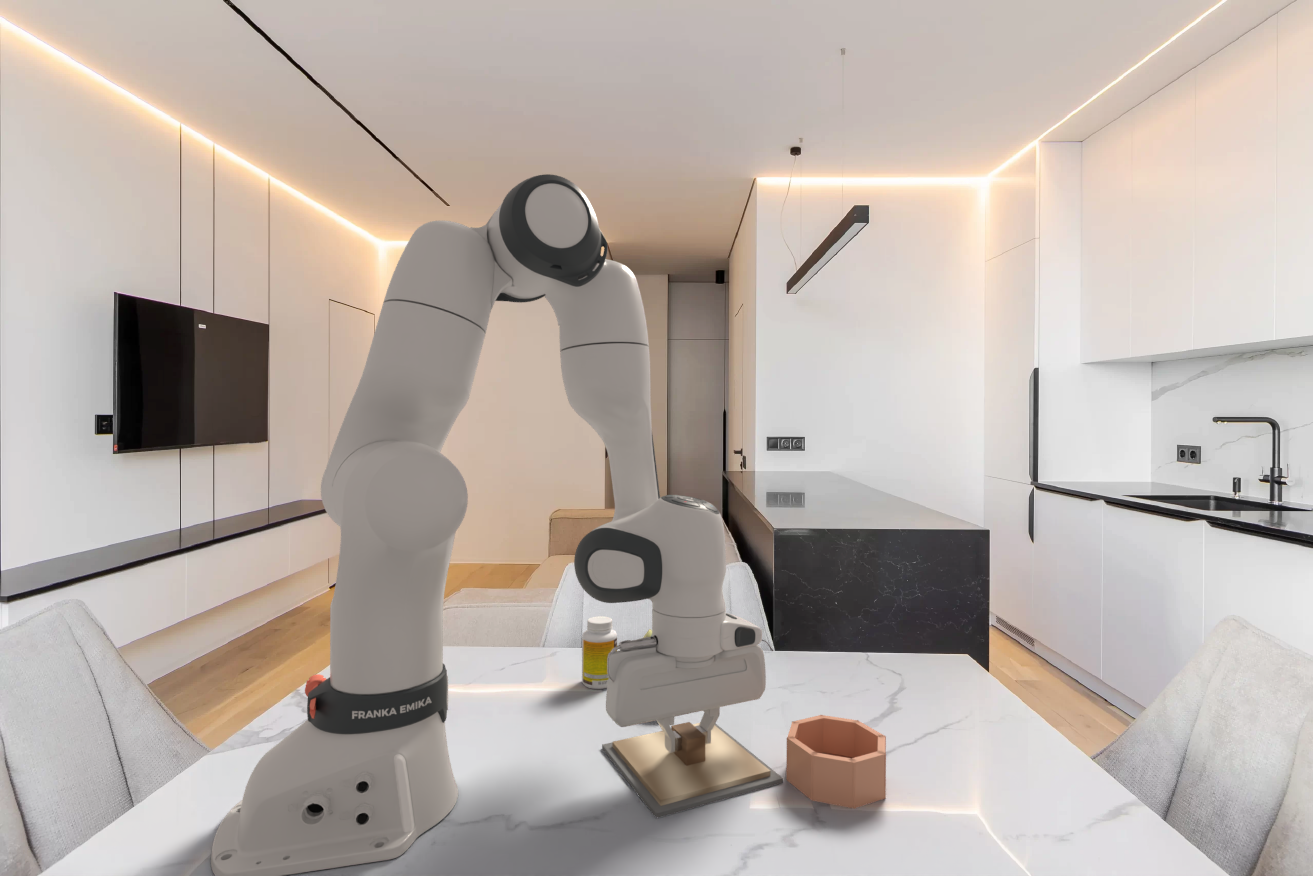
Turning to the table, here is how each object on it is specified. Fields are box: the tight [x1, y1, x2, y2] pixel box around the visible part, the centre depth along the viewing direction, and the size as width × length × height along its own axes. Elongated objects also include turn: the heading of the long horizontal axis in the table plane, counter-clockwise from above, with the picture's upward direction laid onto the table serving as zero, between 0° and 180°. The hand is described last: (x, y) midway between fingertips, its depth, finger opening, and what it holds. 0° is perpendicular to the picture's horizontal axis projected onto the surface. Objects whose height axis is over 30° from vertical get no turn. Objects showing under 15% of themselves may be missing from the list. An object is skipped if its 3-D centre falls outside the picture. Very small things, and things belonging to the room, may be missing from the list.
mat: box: [601, 722, 784, 819], centre depth 76 cm, size 16×16×1 cm
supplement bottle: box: [581, 615, 618, 690], centre depth 101 cm, size 6×6×10 cm
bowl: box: [785, 714, 887, 810], centre depth 73 cm, size 11×11×5 cm
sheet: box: [611, 721, 771, 806], centre depth 76 cm, size 14×14×4 cm
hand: (687, 746), depth 76 cm, fingers closed on sheet, 2 cm apart
